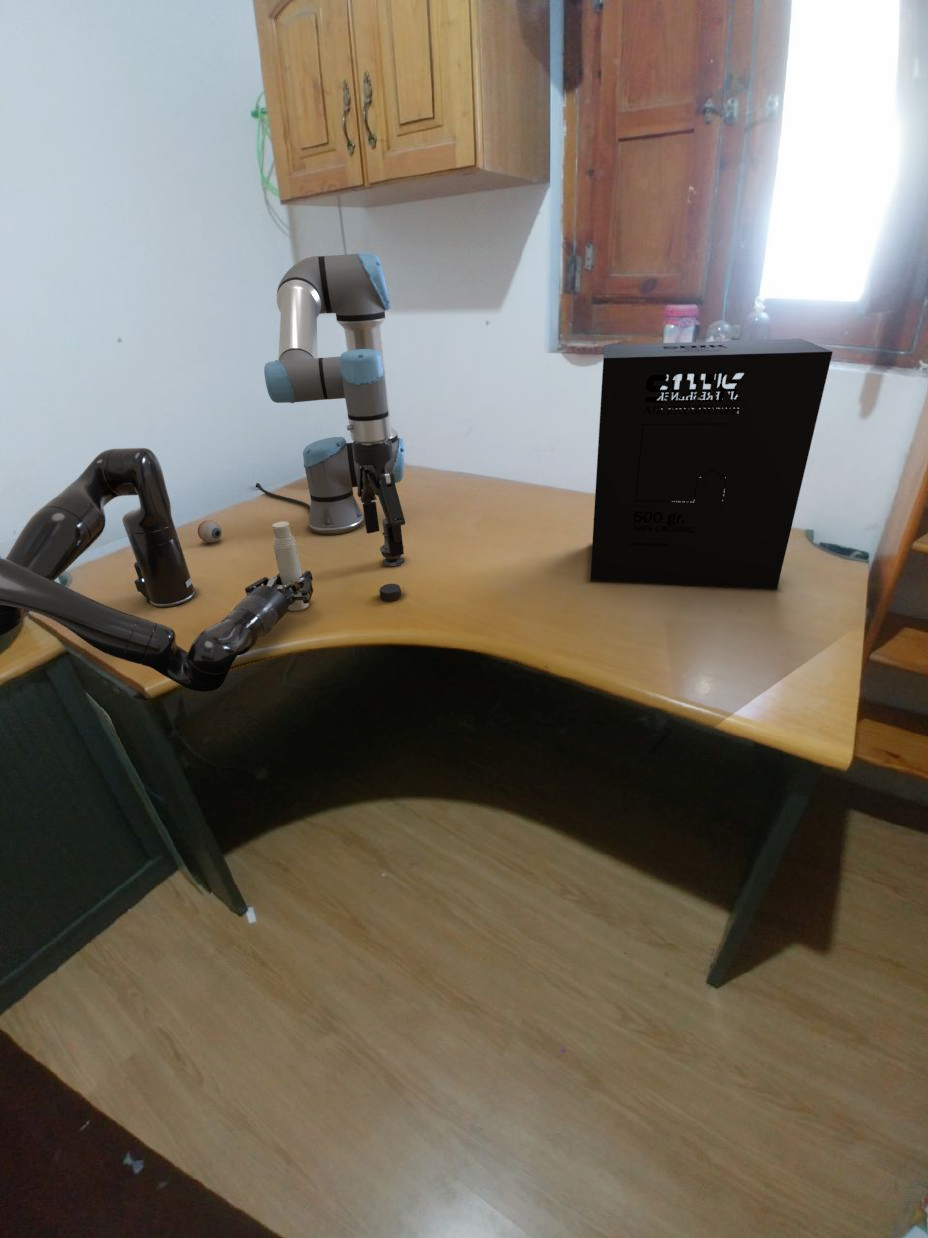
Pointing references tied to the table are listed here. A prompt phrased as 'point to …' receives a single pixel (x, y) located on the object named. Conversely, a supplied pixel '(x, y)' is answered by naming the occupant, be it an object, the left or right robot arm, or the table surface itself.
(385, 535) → the grey tall tiered piece
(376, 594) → the table surface
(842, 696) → the table surface
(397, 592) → the cap
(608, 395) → the cardboard box
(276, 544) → the bottle
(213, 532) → the eyeball
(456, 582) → the table surface
